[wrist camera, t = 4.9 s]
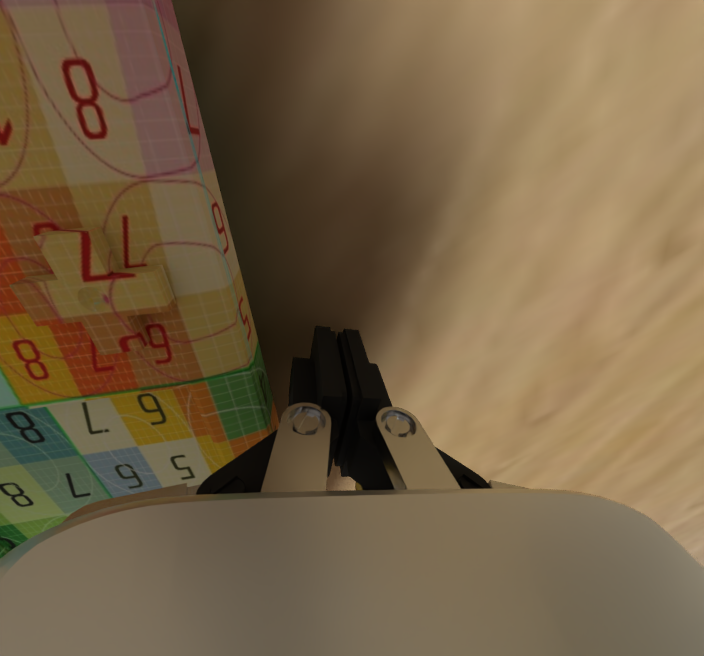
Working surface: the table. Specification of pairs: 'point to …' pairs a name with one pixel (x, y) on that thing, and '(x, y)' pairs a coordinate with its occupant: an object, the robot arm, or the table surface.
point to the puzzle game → (112, 269)
